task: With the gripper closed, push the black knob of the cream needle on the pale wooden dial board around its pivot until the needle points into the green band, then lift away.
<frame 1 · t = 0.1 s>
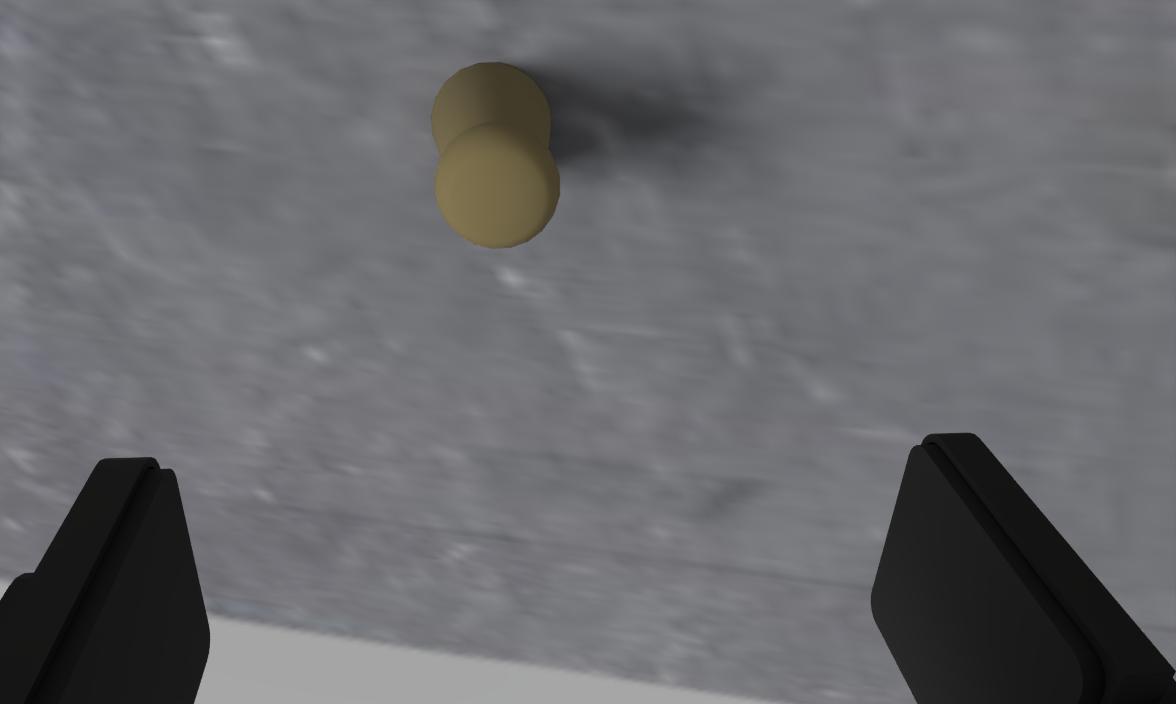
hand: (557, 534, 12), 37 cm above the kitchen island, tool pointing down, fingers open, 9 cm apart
cork: (491, 122, 46), on the kitchen island
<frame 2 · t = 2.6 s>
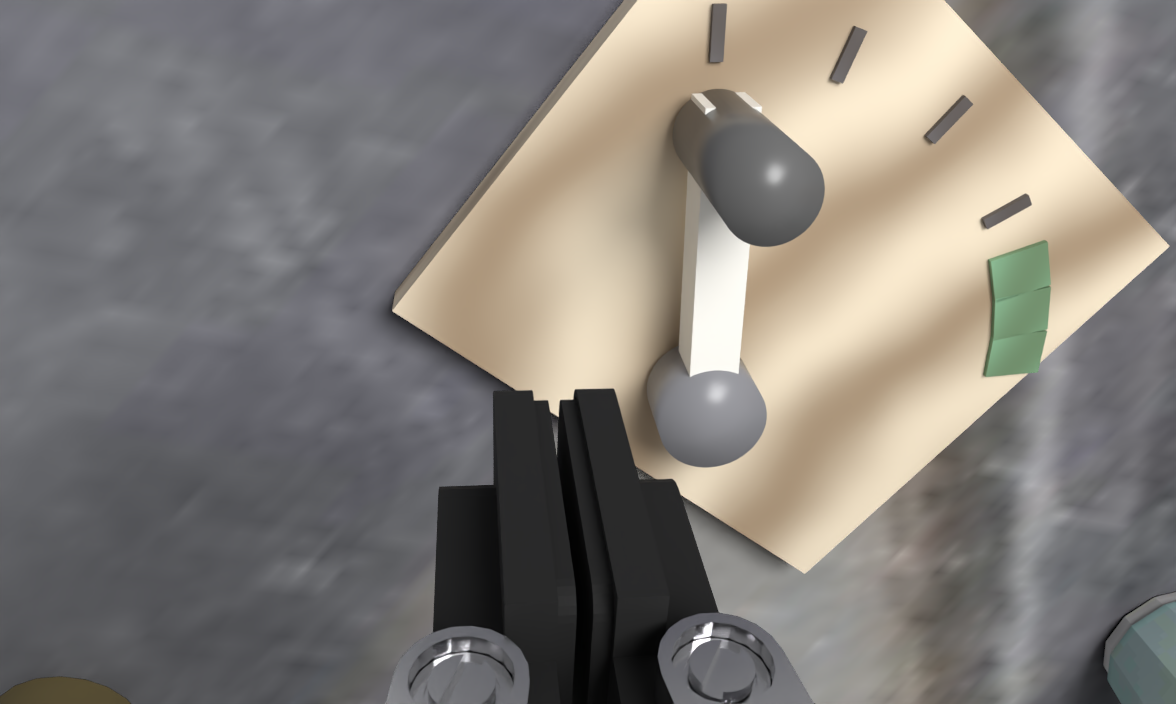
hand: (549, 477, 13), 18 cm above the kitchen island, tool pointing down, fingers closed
disposable coffee cup: (1165, 629, 44), on the kitchen island
tuner needle: (727, 315, 27), point 5 cm above the kitchen island, hinge at -50.0°
dial board: (781, 260, 32), on the kitchen island
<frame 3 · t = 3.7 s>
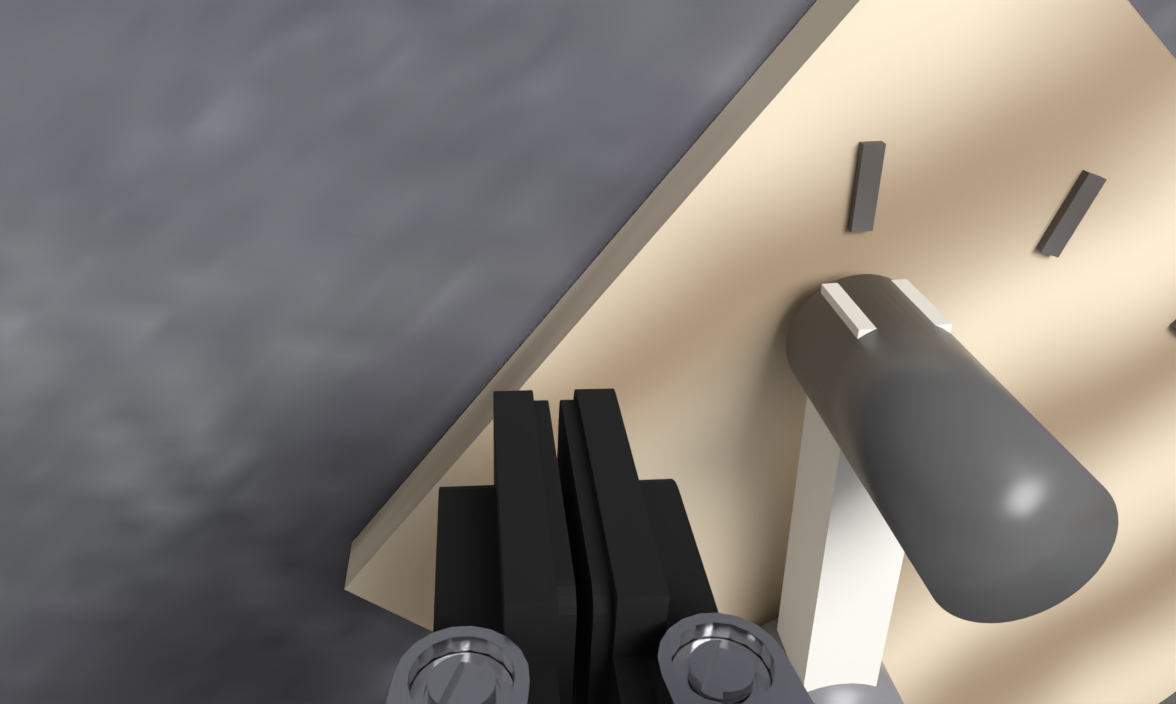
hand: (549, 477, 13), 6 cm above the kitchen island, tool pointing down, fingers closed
tuner needle: (876, 635, 17), point 5 cm above the kitchen island, hinge at -50.0°
dial board: (923, 481, 22), on the kitchen island
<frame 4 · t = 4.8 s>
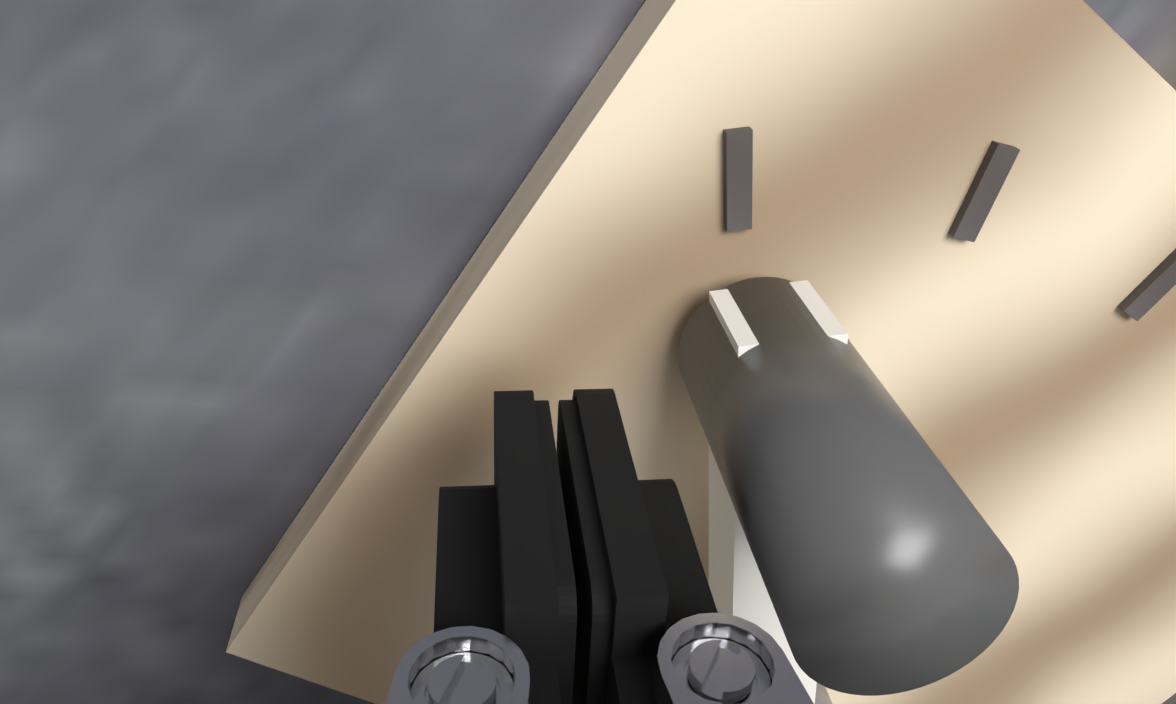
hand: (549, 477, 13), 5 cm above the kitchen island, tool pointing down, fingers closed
tuner needle: (794, 681, 15), point 5 cm above the kitchen island, hinge at -51.1°, touching gripper
dial board: (864, 489, 20), on the kitchen island
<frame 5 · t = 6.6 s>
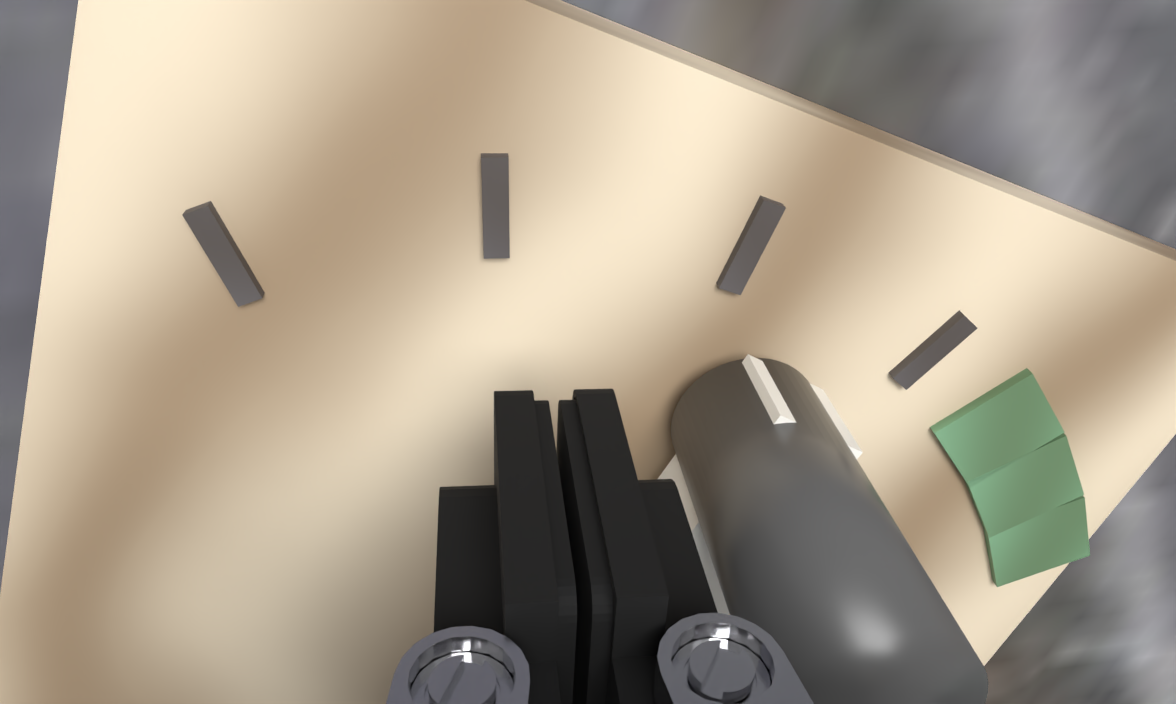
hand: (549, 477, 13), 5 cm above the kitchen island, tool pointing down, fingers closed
dial board: (582, 502, 19), on the kitchen island
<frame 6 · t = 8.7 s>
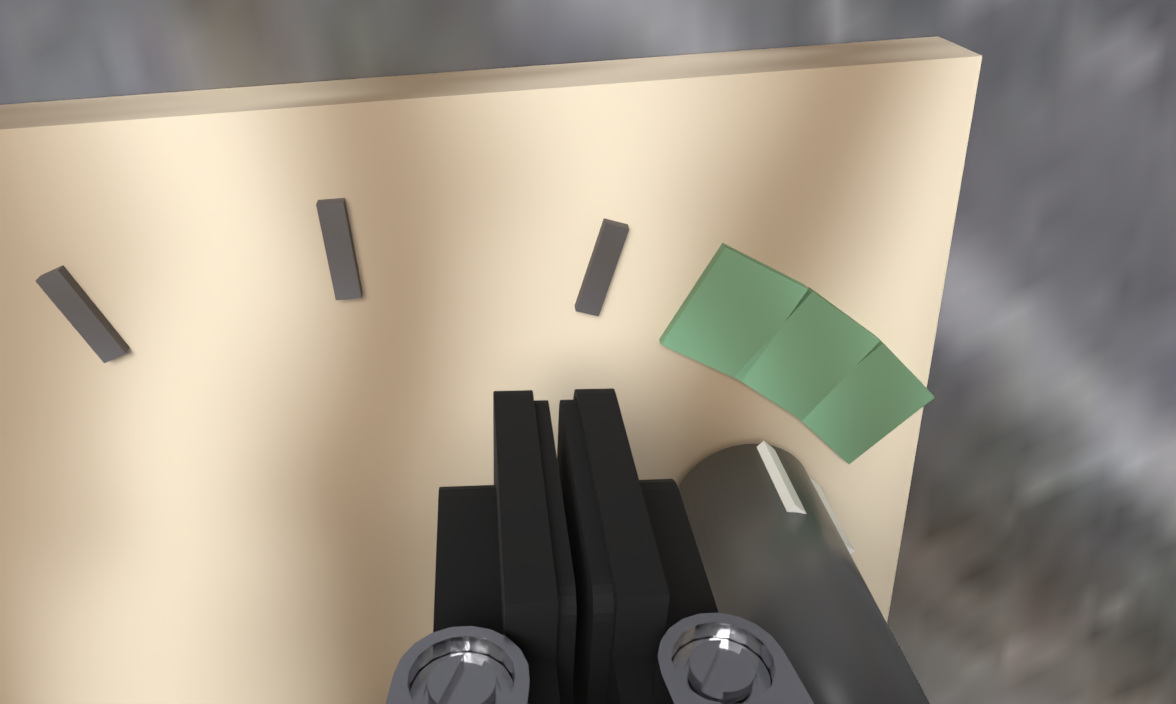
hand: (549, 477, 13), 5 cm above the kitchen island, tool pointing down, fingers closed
dial board: (409, 521, 19), on the kitchen island
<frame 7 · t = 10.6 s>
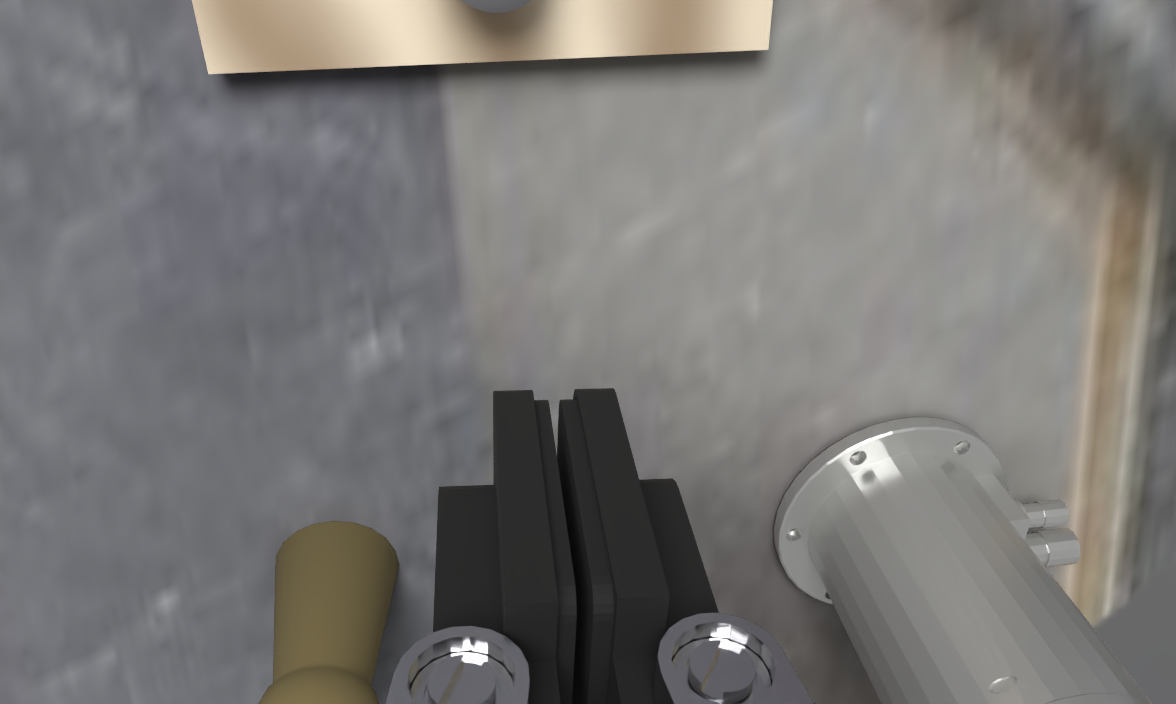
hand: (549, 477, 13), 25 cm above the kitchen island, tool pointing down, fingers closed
cork: (337, 563, 46), on the kitchen island
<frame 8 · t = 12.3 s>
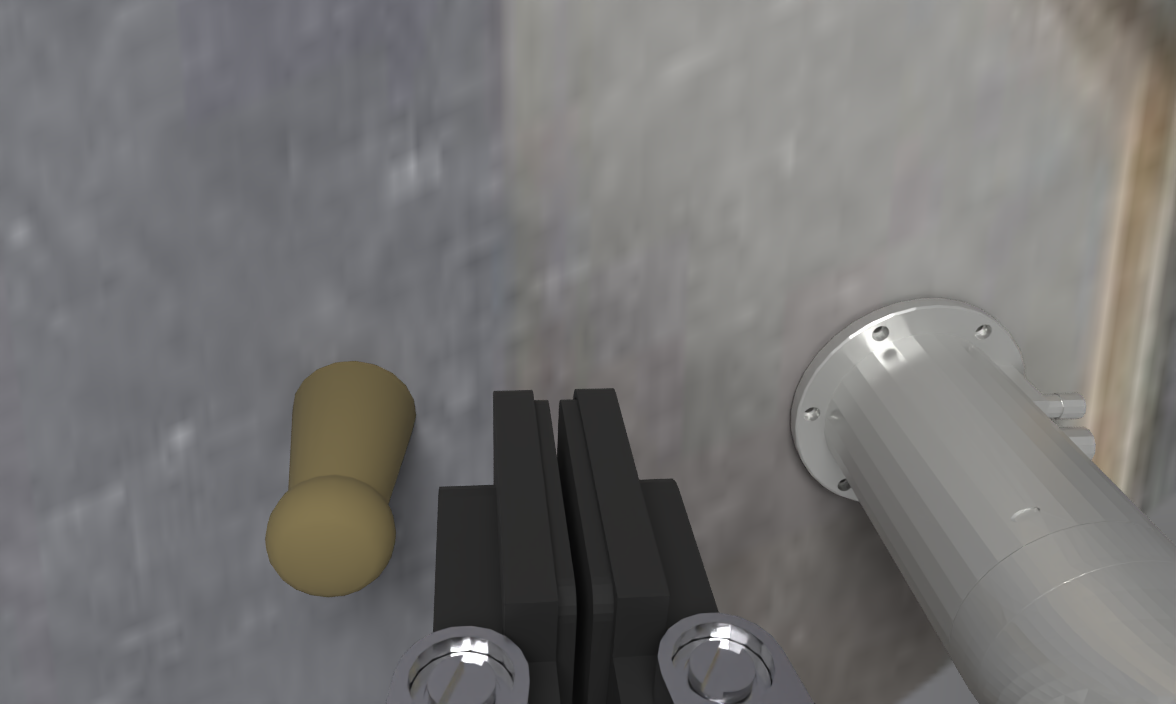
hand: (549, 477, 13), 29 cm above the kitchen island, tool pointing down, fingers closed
cork: (355, 410, 46), on the kitchen island
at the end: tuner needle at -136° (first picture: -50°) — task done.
